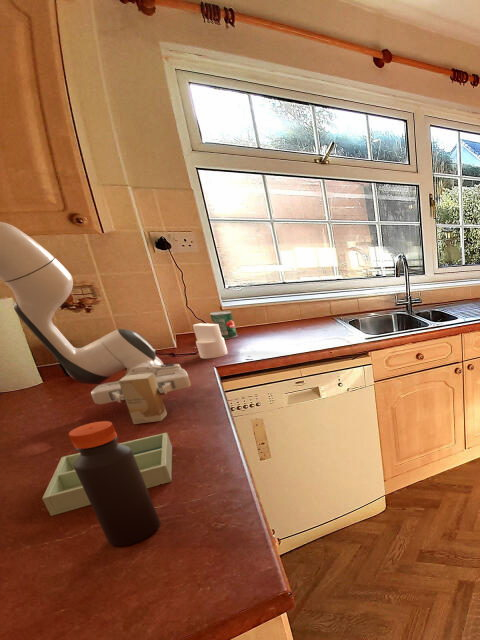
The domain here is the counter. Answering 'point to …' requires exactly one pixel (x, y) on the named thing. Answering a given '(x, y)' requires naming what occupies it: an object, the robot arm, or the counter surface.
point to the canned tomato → (224, 323)
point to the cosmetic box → (143, 398)
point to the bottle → (113, 484)
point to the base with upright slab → (209, 341)
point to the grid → (150, 460)
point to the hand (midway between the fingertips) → (142, 395)
